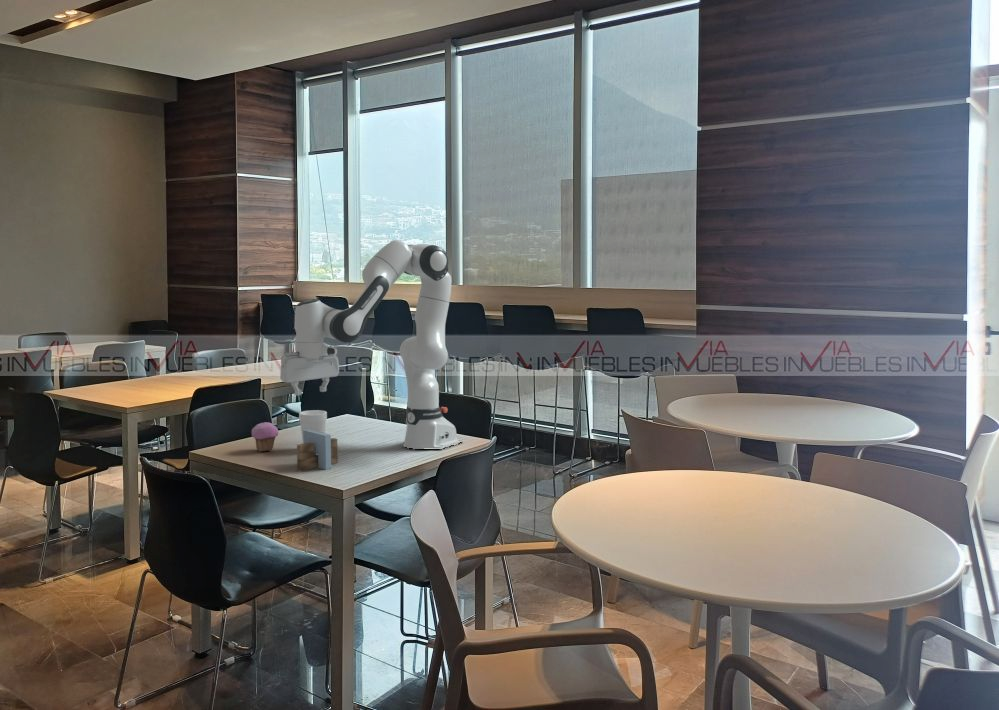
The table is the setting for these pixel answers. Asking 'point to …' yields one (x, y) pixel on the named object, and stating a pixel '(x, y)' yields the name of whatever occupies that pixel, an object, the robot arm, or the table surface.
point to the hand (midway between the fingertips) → (310, 393)
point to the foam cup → (313, 420)
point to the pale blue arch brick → (320, 447)
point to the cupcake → (264, 436)
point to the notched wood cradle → (308, 458)
